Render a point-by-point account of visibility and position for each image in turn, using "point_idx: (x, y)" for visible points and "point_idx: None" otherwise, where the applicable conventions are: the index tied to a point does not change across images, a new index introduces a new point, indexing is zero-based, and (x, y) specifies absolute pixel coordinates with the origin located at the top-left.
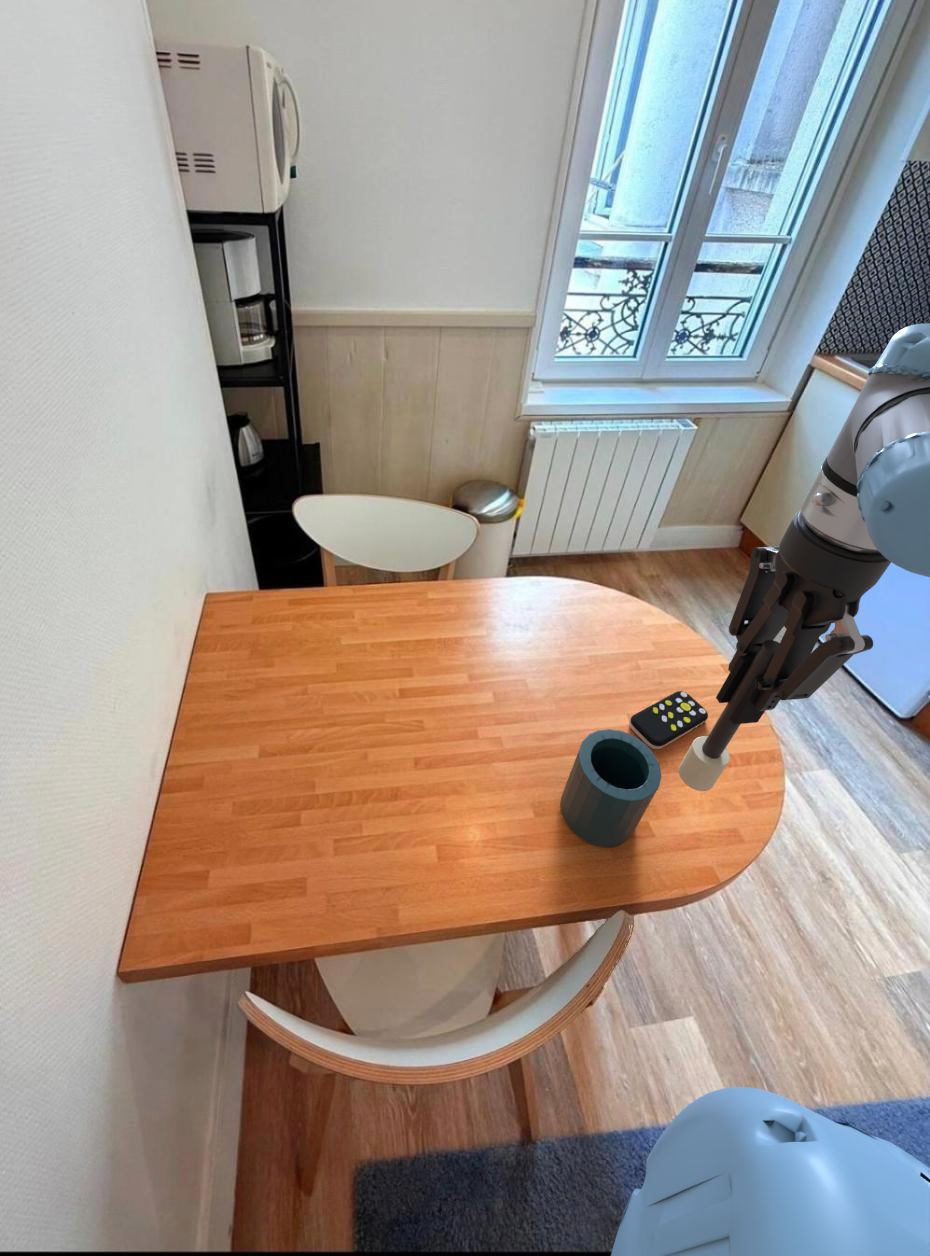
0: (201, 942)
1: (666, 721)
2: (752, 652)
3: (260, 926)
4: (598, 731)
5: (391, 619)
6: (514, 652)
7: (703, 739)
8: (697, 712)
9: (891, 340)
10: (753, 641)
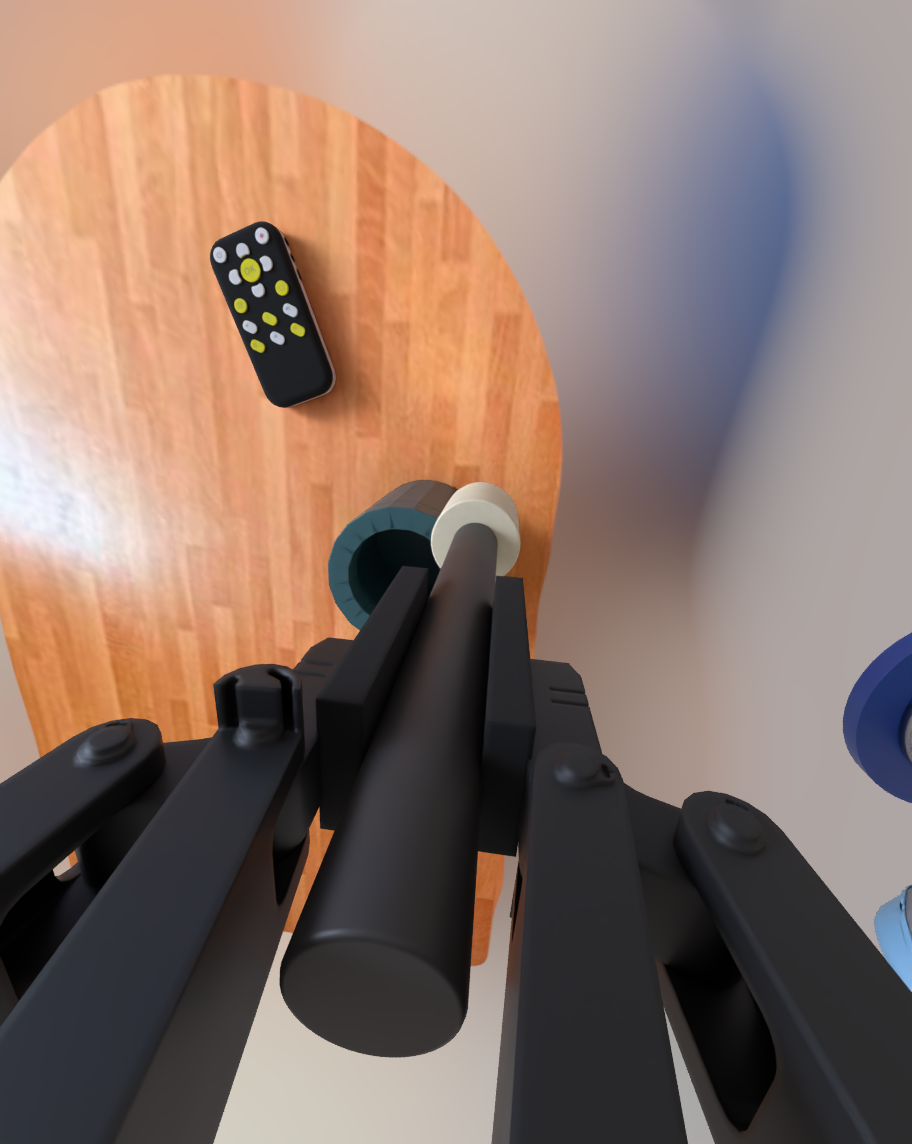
0: (483, 929)
1: (283, 337)
2: (308, 792)
3: (481, 892)
4: (331, 585)
5: (76, 702)
6: (128, 541)
7: (441, 543)
8: (264, 249)
9: None
10: (266, 957)
